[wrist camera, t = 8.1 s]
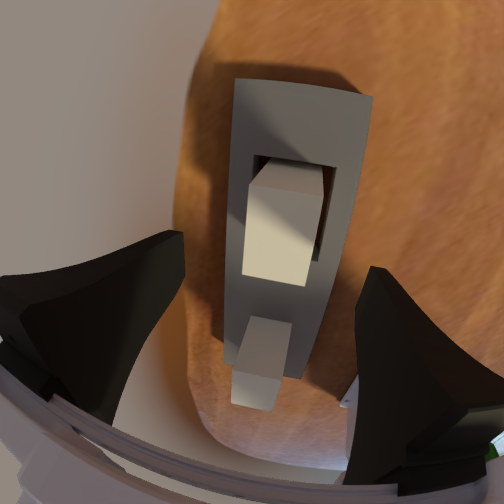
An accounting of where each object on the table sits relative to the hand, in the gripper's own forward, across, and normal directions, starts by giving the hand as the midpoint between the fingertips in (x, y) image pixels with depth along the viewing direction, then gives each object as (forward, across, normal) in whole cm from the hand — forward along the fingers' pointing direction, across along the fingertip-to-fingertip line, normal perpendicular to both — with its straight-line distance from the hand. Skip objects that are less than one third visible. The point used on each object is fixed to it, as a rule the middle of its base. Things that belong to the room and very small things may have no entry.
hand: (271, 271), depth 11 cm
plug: (+8, 0, 0) cm, 8 cm away
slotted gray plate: (+8, 0, +4) cm, 9 cm away
